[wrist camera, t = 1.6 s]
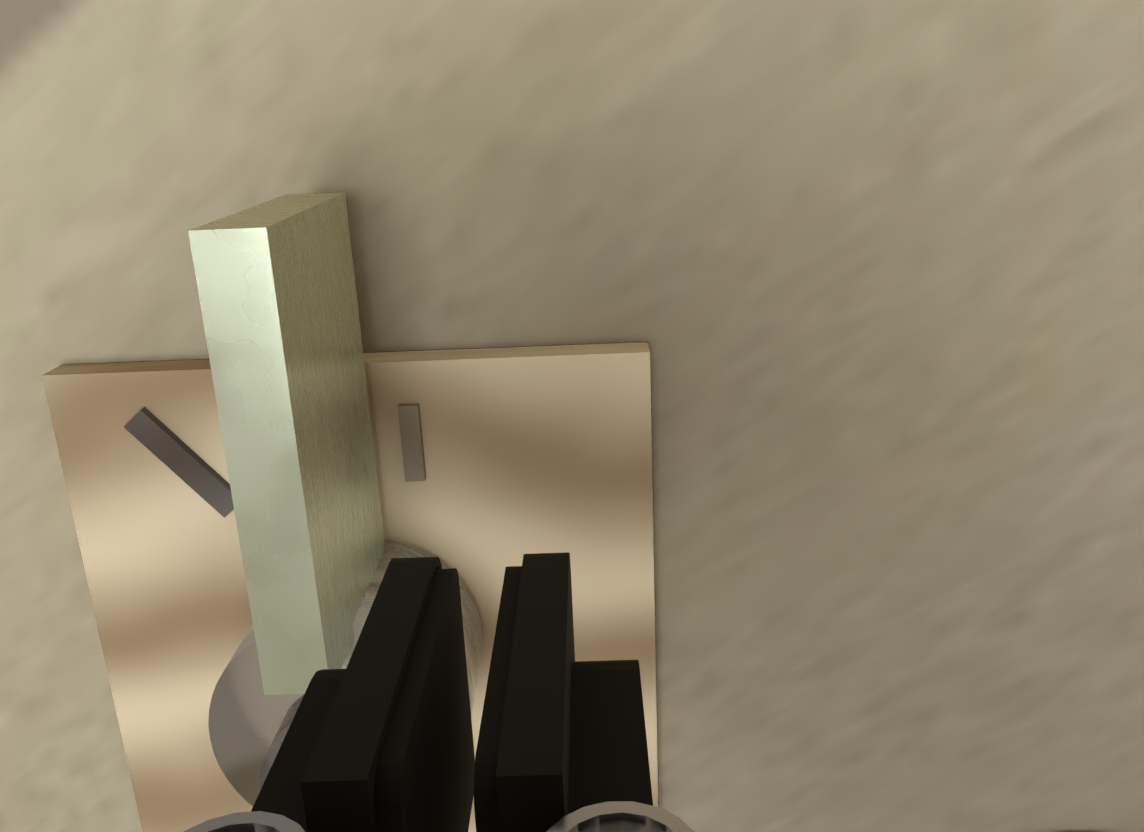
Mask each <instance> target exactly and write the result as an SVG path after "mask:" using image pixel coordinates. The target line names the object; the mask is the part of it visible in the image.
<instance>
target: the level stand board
mask: <svg viewBox="0 0 1144 832" xmlns="http://www.w3.org/2000/svg"><path fill="white" fill-rule="evenodd" d="M363 356H364V364H365V373H366V382H367V391H368V400H369V409H370V418H371V426H372V435H373V444H374V453H375V462H376V471H377V479H378V488H379V497H380V506H381V515H382V524H383V533H384V540H390V541H395V542H398V543H402V544H406V545H408V546H411V547H414V548H416V549H419V550H421V551H423V552H425V553H426V554H428V555H430V556H432V557H439V559H440V561H441V563H442V564H443V565H445V566H446V567H447V568H448V569H450V568H456V569H457V571H458V576H459V580H460V581H461V582H462V583H463V585H464V586H465V587H466V589H467V591H468V592H469V594H470V595H471V597H472V599H473V601H474V603H475V605H476V607H477V610H478V613H479V616H480V619H481V623H482V630H483V652H482V658H481V664H480V670H479V676H478V681H477V687H476V693H475V698H474V704H473V710H472V715H471V721H472V732H473V744H474V755H475V756H476V750H477V743H478V737H479V731H480V725H481V718H482V712H483V706H484V700H485V693H486V687H487V681H488V675H489V668H490V662H491V656H492V650H493V643H494V637H495V631H496V625H497V618H498V612H499V606H500V600H501V593H502V587H503V581H504V575H505V569H506V567H510V566H522V562H523V555H524V554H535V553H565V552H569V553H570V565H571V585H572V606H573V627H574V648H575V662H576V661H608V660H638V661H639V667H640V677H641V687H642V697H643V707H644V717H645V728H646V738H647V748H648V758H649V768H650V779H651V789H652V799H653V806H656V807H658V769H657V713H656V657H655V602H654V546H653V490H652V434H651V378H650V350H649V346H648V342H636V343H610V344H584V345H558V346H533V347H507V348H481V349H455V350H429V351H403V352H377V353H363ZM42 378H43V383H44V387H45V392H46V396H47V401H48V405H49V410H50V414H51V419H52V423H53V428H54V432H55V437H56V441H57V446H58V450H59V455H60V459H61V464H62V468H63V473H64V478H65V482H66V487H67V491H68V496H69V500H70V505H71V509H72V514H73V518H74V523H75V527H76V532H77V536H78V541H79V545H80V550H81V554H82V559H83V563H84V568H85V573H86V577H87V582H88V586H89V591H90V595H91V600H92V604H93V609H94V613H95V618H96V622H97V627H98V631H99V636H100V640H101V645H102V649H103V654H104V658H105V663H106V667H107V672H108V677H109V681H110V686H111V690H112V695H113V699H114V704H115V708H116V713H117V717H118V722H119V726H120V731H121V735H122V740H123V744H124V749H125V753H126V758H127V762H128V767H129V772H130V776H131V781H132V785H133V790H134V794H135V799H136V803H137V808H138V812H139V817H140V821H141V826H142V830H143V832H183V831H185V830H187V829H190V828H192V827H194V826H196V825H198V824H200V823H203V822H205V821H207V820H209V819H213V818H217V817H220V816H224V815H228V814H232V813H236V812H251V810H252V808H253V806H252V805H250V804H249V803H248V802H247V801H246V800H245V799H244V798H243V797H242V796H241V795H240V794H239V793H238V792H237V791H236V790H235V789H234V787H233V786H232V785H231V784H230V782H229V781H228V780H227V778H226V777H225V775H224V773H223V772H222V770H221V768H220V767H219V764H218V762H217V760H216V757H215V755H214V752H213V749H212V745H211V741H210V735H209V726H208V720H209V708H210V703H211V698H212V695H213V692H214V689H215V687H216V684H217V682H218V680H219V678H220V677H221V675H222V673H223V671H224V670H225V668H226V666H227V665H228V663H229V662H230V660H231V658H232V657H233V655H234V653H235V652H236V650H237V649H238V647H239V645H240V644H241V642H242V640H243V639H244V637H245V635H246V634H247V632H248V631H249V629H250V627H251V626H252V624H253V622H252V616H251V610H250V604H249V598H248V592H247V585H246V579H245V573H244V567H243V561H242V555H241V549H240V543H239V537H238V531H237V525H236V519H235V512H234V506H233V500H232V494H231V488H230V482H229V476H228V470H227V464H226V458H225V452H224V445H223V439H222V433H221V427H220V421H219V415H218V409H217V403H216V397H215V391H214V385H213V379H212V372H211V366H210V360H209V359H196V360H171V361H145V362H119V363H93V364H67V365H61V366H59V367H57V368H55V369H53V370H51V371H49V372H48V373H46V374H44V375H42ZM468 832H476V823H475V811H474V796H473V803H472V809H471V816H470V822H469V829H468Z"/></svg>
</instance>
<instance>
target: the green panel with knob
mask: <svg viewBox="0 0 1144 832" xmlns="http://www.w3.org/2000/svg"><path fill="white" fill-rule="evenodd" d="M188 232H189V239H190V245H191V251H192V257H193V263H194V269H195V275H196V281H197V287H198V293H199V299H200V306H201V312H202V318H203V324H204V330H205V336H206V342H207V348H208V354H209V360H210V366H211V372H212V379H213V385H214V391H215V397H216V403H217V409H218V415H219V421H220V427H221V433H222V439H223V445H224V452H225V458H226V464H227V470H228V476H229V482H230V488H231V494H232V500H233V506H234V512H235V519H236V525H237V531H238V537H239V543H240V549H241V555H242V561H243V567H244V573H245V579H246V585H247V592H248V598H249V604H250V610H251V616H252V622H253V624H252V626H251V627H250V629H249V631H248V632H247V634H246V635H245V637H244V639H243V640H242V642H241V644H240V645H239V647H238V649H237V650H236V652H235V653H234V655H233V657H232V658H231V660H230V662H229V663H228V665H227V666H226V668H225V670H224V671H223V673H222V675H221V677H220V678H219V680H218V682H217V684H216V687H215V689H214V692H213V695H212V698H211V703H210V708H209V720H208V726H209V735H210V741H211V745H212V749H213V752H214V755H215V757H216V760H217V762H218V764H219V767H220V768H221V770H222V772H223V773H224V775H225V777H226V778H227V780H228V781H229V782H230V784H231V785H232V786H233V787H234V789H235V790H236V791H237V792H238V793H239V794H240V795H241V796H242V797H243V798H244V799H245V800H246V801H247V802H248V803H249V804H250V805H252V806H254V803H255V801H256V799H257V797H258V795H259V792H260V790H261V788H262V786H263V784H264V782H265V779H266V777H267V775H268V773H269V771H270V768H271V766H272V764H273V762H274V760H275V758H276V755H277V753H278V751H279V749H280V747H281V744H282V742H283V740H284V738H285V736H286V733H287V731H288V729H289V727H290V725H291V723H292V720H293V718H294V716H295V714H296V712H297V709H298V707H299V705H300V703H301V701H302V699H303V696H304V694H305V692H306V690H307V688H308V685H309V683H310V681H311V679H312V677H313V676H314V674H315V673H316V671H319V670H321V669H346V668H347V665H348V663H349V661H350V658H351V656H352V653H353V651H354V648H355V646H356V643H357V641H358V638H359V636H360V633H361V631H362V629H363V626H364V624H365V621H366V619H367V616H368V614H369V611H370V609H371V606H372V604H373V601H374V599H375V596H376V594H377V592H378V589H379V587H380V584H381V582H382V579H383V577H384V574H385V572H386V569H387V567H388V564H389V562H390V560H391V559H392V558H417V557H432V556H430V555H428V554H426V553H425V552H423V551H421V550H419V549H416V548H414V547H411V546H408V545H406V544H402V543H398V542H395V541H390V540H384V533H383V524H382V515H381V506H380V497H379V488H378V479H377V471H376V462H375V453H374V444H373V435H372V426H371V418H370V409H369V400H368V391H367V382H366V373H365V364H364V356H363V347H362V338H361V329H360V320H359V311H358V302H357V294H356V285H355V276H354V267H353V258H352V249H351V241H350V232H349V223H348V214H347V205H346V196H345V192H340V193H316V194H293V195H284V196H282V197H279V198H276V199H273V200H271V201H268V202H265V203H262V204H260V205H257V206H254V207H251V208H249V209H246V210H243V211H241V212H238V213H235V214H232V215H230V216H227V217H224V218H221V219H219V220H216V221H213V222H211V223H208V224H205V225H202V226H200V227H197V228H194V229H191V230H189V231H188ZM441 565H442V569H448V568H447V567H446V566H445V565H443V564H442V563H441ZM459 584H460V596H461V607H462V618H463V630H464V641H465V653H466V664H467V675H468V687H469V698H470V710H471V715H472V710H473V704H474V698H475V693H476V687H477V681H478V676H479V670H480V664H481V658H482V652H483V630H482V623H481V619H480V616H479V613H478V610H477V607H476V605H475V603H474V601H473V599H472V597H471V595H470V594H469V592H468V591H467V589H466V587H465V586H464V585H463V583H462V582H461V581H460V580H459Z"/></svg>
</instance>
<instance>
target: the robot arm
mask: <svg viewBox="0 0 1144 832" xmlns="http://www.w3.org/2000/svg"><path fill="white" fill-rule="evenodd" d="M473 796H474V811H475V823H476V832H694V831H693V830H692V829H691V828H690V827H689V826H688V825H687V824H686V823H684V822H683V821H682V820H681V819H680V818H679V817H677V816H675V815H673V814H671V813H669V812H667V811H665V810H663V809H661V808H659V807H656V806H653V799H652V789H651V779H650V768H649V758H648V748H647V738H646V728H645V717H644V707H643V697H642V687H641V677H640V667H639V661H638V660H608V661H576V662H575V648H574V627H573V606H572V585H571V565H570V553H569V552H565V553H535V554H524V555H523V562H522V566H510V567H506V569H505V575H504V581H503V587H502V593H501V600H500V606H499V612H498V618H497V625H496V631H495V637H494V643H493V650H492V656H491V662H490V668H489V675H488V681H487V687H486V693H485V700H484V706H483V712H482V718H481V725H480V731H479V737H478V743H477V750H476V756H475V755H474V744H473V732H472V721H471V710H470V698H469V687H468V675H467V664H466V653H465V641H464V630H463V618H462V607H461V596H460V584H459V576H458V571H457V569H456V568H450V569H442V565H441V561H440V559H439V557H417V558H392V559H391V560H390V562H389V564H388V567H387V569H386V572H385V574H384V577H383V579H382V582H381V584H380V587H379V589H378V592H377V594H376V596H375V599H374V601H373V604H372V606H371V609H370V611H369V614H368V616H367V619H366V621H365V624H364V626H363V629H362V631H361V633H360V636H359V638H358V641H357V643H356V646H355V648H354V651H353V653H352V656H351V658H350V661H349V663H348V665H347V668H346V669H321V670H319V671H316V673H315V674H314V676H313V677H312V679H311V681H310V683H309V685H308V688H307V690H306V692H305V694H304V696H303V699H302V701H301V703H300V705H299V707H298V709H297V712H296V714H295V716H294V718H293V720H292V723H291V725H290V727H289V729H288V731H287V733H286V736H285V738H284V740H283V742H282V744H281V747H280V749H279V751H278V753H277V755H276V758H275V760H274V762H273V764H272V766H271V768H270V771H269V773H268V775H267V777H266V779H265V782H264V784H263V786H262V788H261V790H260V792H259V795H258V797H257V799H256V801H255V803H254V806H253V808H252V810H251V812H236V813H232V814H228V815H224V816H220V817H217V818H213V819H209V820H207V821H205V822H203V823H200V824H198V825H196V826H194V827H192V828H190V829H187V830H185V831H183V832H468V829H469V822H470V816H471V809H472V803H473Z"/></svg>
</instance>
